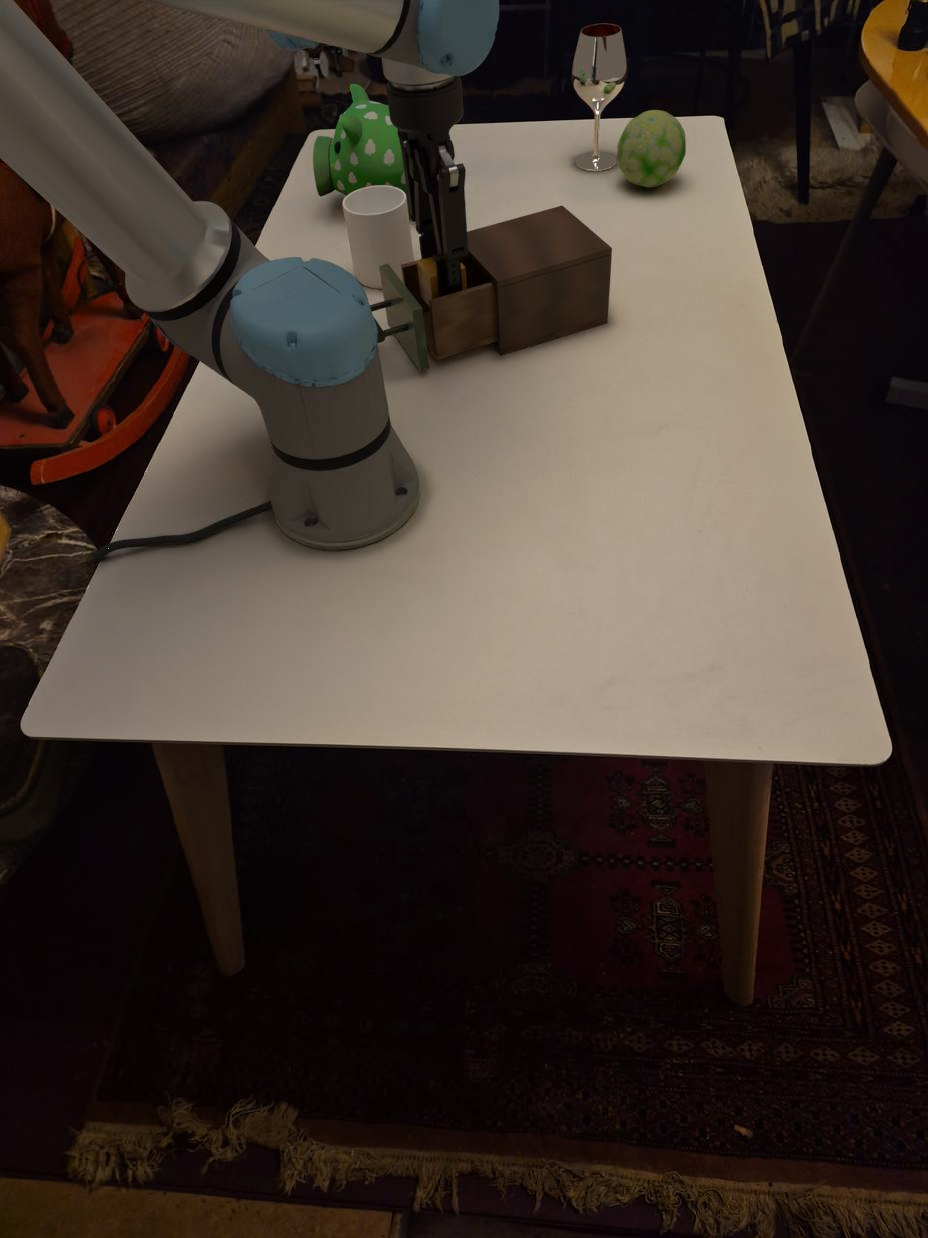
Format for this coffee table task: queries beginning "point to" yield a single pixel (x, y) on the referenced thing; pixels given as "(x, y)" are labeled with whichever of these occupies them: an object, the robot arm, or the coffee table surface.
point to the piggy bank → (359, 150)
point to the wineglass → (599, 80)
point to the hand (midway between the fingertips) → (444, 297)
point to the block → (432, 279)
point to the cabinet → (543, 276)
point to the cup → (378, 232)
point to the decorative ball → (651, 148)
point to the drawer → (437, 314)
